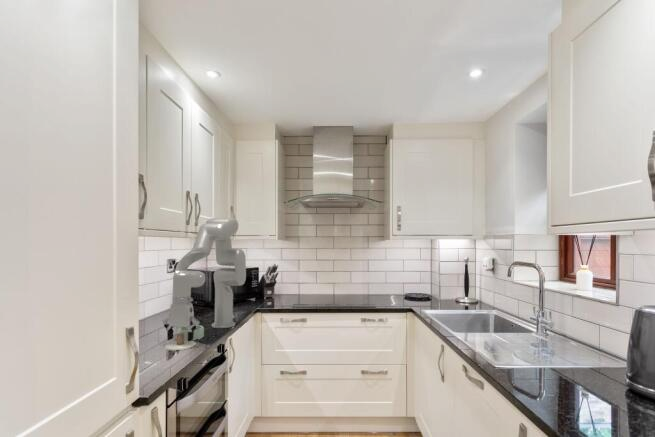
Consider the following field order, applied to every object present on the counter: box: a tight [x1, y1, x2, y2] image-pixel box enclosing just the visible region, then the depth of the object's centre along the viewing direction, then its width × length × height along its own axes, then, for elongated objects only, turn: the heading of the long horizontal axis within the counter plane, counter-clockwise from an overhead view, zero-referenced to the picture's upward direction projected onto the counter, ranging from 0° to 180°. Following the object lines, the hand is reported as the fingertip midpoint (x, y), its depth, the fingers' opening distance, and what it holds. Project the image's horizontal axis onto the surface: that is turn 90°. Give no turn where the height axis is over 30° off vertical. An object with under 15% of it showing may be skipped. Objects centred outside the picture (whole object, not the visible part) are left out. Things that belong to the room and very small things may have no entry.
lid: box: [165, 333, 196, 352], centre depth 158 cm, size 12×12×5 cm
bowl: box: [177, 324, 205, 341], centre depth 172 cm, size 11×11×5 cm
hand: (180, 340), depth 158 cm, fingers open, 9 cm apart
